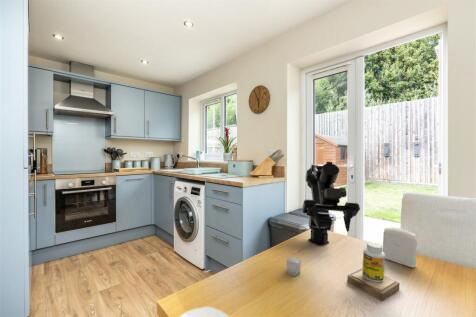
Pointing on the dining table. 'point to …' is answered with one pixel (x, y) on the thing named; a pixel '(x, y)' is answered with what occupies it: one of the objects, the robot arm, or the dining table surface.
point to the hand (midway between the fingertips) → (333, 230)
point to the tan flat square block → (374, 285)
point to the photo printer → (400, 246)
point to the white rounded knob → (293, 266)
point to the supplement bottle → (373, 262)
